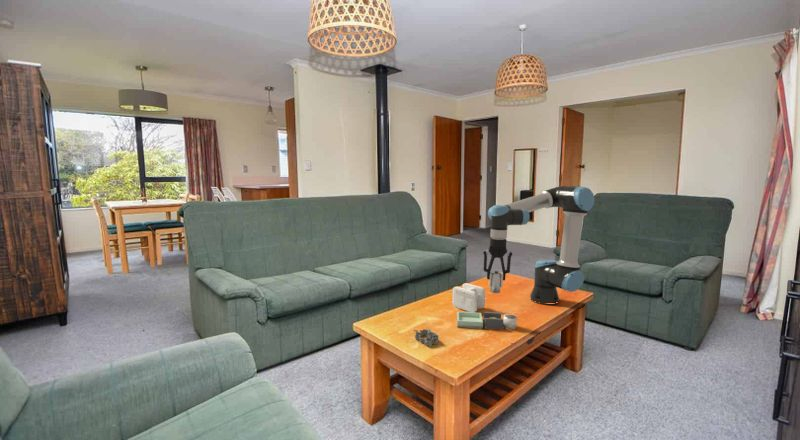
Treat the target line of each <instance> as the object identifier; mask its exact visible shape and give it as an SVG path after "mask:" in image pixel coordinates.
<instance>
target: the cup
mask: <svg viewBox="0 0 800 440" xmlns="http://www.w3.org/2000/svg"><path fill="white" fill-rule="evenodd" d="M502 319H503V329H506V328H507V329H506V330H510V329H514V330H516V329H517V325H518V324H517V322H518V316H517V315H515V314H511V313H506V314H503V318H502ZM515 328H516V329H515Z"/></svg>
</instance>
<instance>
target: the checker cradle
mask: <svg viewBox="0 0 800 440" xmlns="http://www.w3.org/2000/svg"><path fill="white" fill-rule="evenodd" d="M489 317H497V318H489ZM483 326H484V329H487V330H489V329H491V330H502V329H503V330H504V327H503V318H502V312H500V311H499V312H496V311H483Z"/></svg>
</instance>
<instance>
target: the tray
mask: <svg viewBox="0 0 800 440" xmlns="http://www.w3.org/2000/svg"><path fill="white" fill-rule="evenodd" d="M456 325H457V328H467V329H482V330H483V327H484V319H483V317H482V312H467V311H456Z"/></svg>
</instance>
